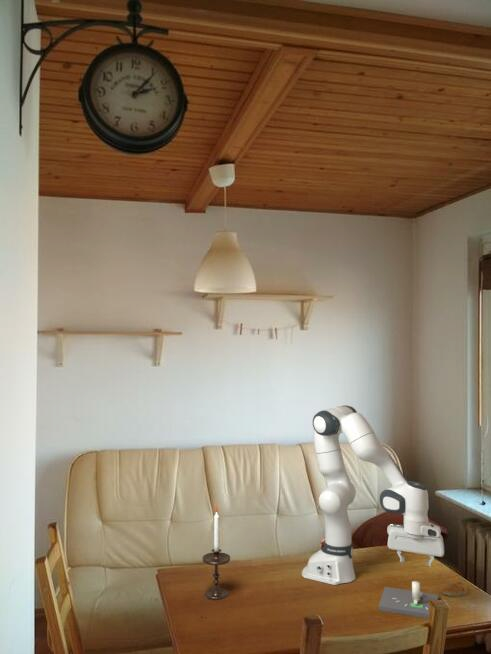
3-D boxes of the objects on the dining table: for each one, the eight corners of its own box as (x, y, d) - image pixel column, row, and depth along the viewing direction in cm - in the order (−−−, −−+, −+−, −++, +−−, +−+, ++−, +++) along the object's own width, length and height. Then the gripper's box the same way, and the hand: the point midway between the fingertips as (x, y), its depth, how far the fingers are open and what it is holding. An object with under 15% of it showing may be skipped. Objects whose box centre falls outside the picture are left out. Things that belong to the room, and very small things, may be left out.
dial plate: (378, 610, 200) (378, 605, 200) (384, 590, 217) (384, 586, 217) (436, 619, 193) (436, 614, 193) (437, 598, 210) (437, 594, 210)
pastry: (451, 599, 210) (451, 589, 210) (438, 592, 216) (437, 583, 216) (468, 594, 214) (468, 584, 214) (455, 588, 220) (454, 578, 220)
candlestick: (196, 595, 213) (197, 504, 215) (216, 586, 221) (216, 498, 223) (215, 603, 205) (216, 509, 207) (235, 594, 213) (236, 503, 215)
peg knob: (413, 593, 210) (413, 574, 211) (423, 595, 209) (423, 575, 209) (410, 604, 201) (410, 584, 201) (420, 606, 199) (420, 585, 200)
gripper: (386, 525, 205) (385, 562, 204) (444, 533, 197) (443, 572, 197) (388, 520, 211) (387, 556, 210) (444, 528, 203) (444, 565, 203)
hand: (415, 564), depth 203 cm, fingers open, 8 cm apart
